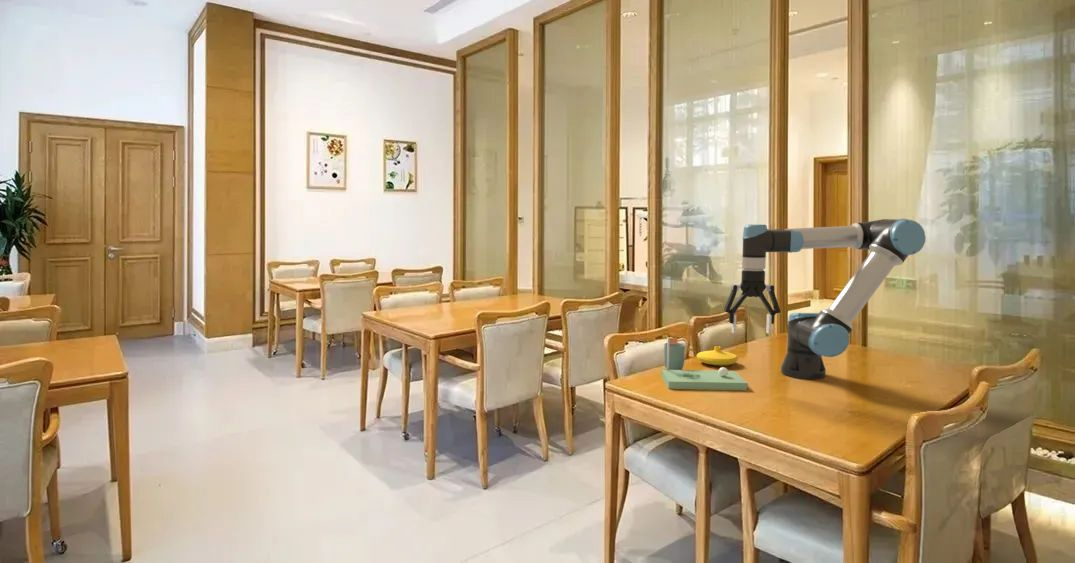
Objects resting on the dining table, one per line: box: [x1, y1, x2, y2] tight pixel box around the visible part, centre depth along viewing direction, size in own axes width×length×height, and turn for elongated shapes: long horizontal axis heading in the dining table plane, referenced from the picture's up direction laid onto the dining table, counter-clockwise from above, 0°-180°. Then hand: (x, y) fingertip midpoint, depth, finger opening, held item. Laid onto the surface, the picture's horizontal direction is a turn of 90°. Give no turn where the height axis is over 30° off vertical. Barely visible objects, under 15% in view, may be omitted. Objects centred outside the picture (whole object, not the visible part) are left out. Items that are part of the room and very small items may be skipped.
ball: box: [717, 366, 729, 377], centre depth 209 cm, size 3×3×3 cm
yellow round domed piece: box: [696, 345, 739, 367], centre depth 238 cm, size 16×16×7 cm
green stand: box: [661, 337, 748, 391], centre depth 209 cm, size 26×16×14 cm, turn 87°
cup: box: [663, 342, 686, 370], centre depth 227 cm, size 8×8×10 cm
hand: (751, 333), depth 207 cm, fingers open, 11 cm apart
